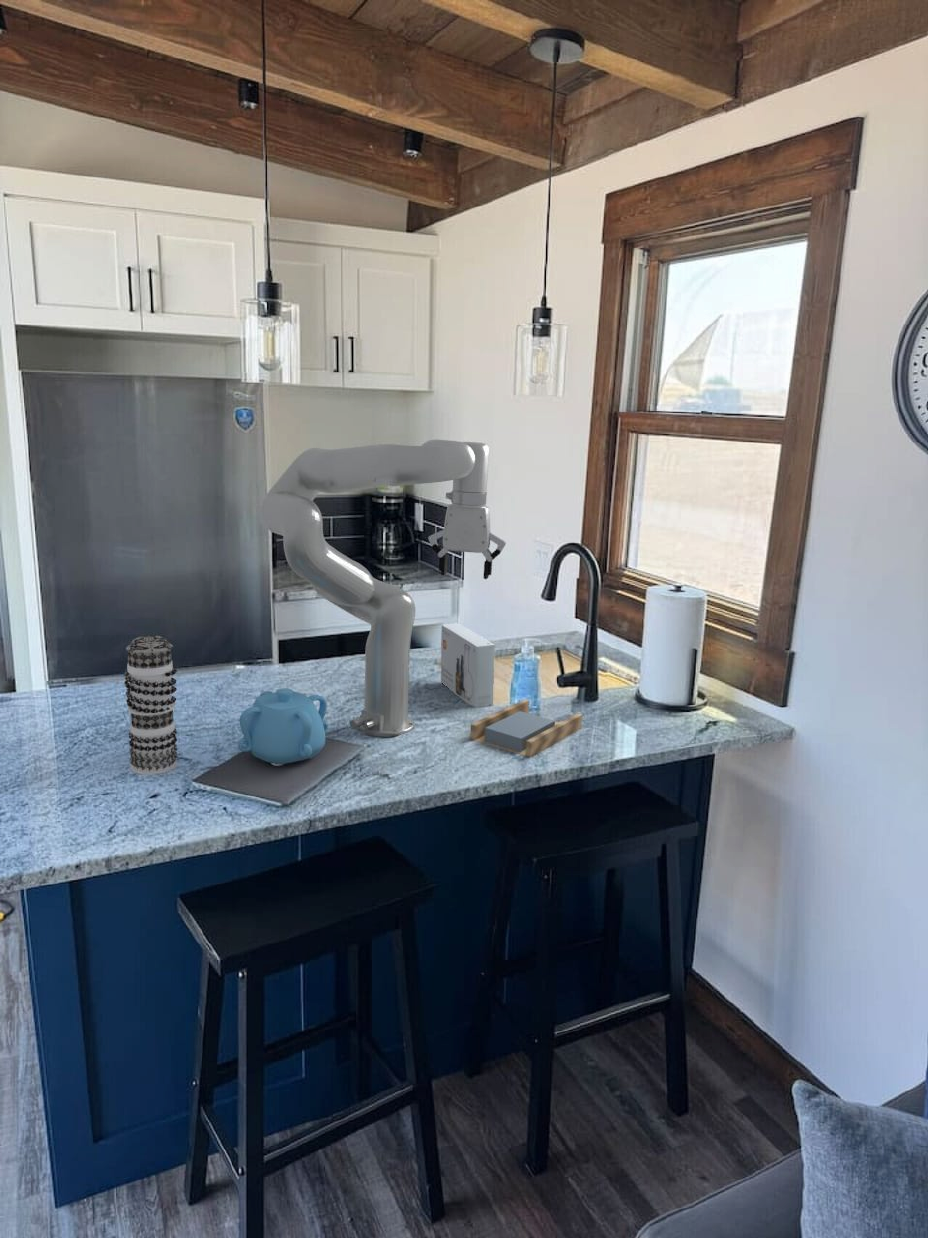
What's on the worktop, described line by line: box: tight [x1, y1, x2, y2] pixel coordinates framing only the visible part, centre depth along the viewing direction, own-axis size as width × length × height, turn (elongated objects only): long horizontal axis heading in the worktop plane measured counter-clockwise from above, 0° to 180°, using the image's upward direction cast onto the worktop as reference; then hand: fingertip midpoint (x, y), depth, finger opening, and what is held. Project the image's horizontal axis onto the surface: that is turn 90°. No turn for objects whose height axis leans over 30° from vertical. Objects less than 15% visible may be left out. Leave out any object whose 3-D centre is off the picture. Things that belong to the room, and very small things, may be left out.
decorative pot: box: [237, 687, 329, 765], centre depth 167 cm, size 16×16×14 cm
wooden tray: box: [469, 699, 583, 758], centre depth 184 cm, size 22×15×4 cm
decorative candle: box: [123, 635, 179, 776], centre depth 157 cm, size 9×9×25 cm
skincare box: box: [440, 622, 496, 708], centre depth 208 cm, size 21×5×16 cm, turn 25°
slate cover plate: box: [484, 711, 556, 752], centre depth 182 cm, size 14×9×3 cm, turn 144°
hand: (464, 576), depth 189 cm, fingers open, 9 cm apart
